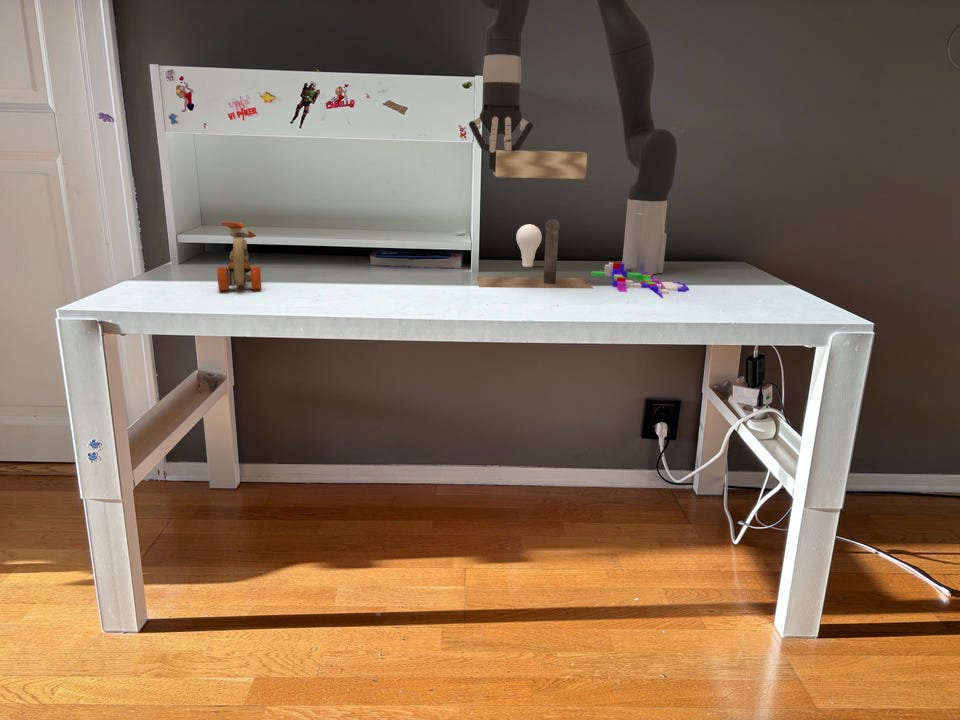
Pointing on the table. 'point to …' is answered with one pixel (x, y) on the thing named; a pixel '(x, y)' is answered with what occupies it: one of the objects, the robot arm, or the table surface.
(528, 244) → the lightbulb
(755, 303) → the table surface
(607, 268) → the building block set
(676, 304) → the table surface
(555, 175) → the open wooden box
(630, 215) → the robot arm
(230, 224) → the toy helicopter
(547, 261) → the walnut post stand
